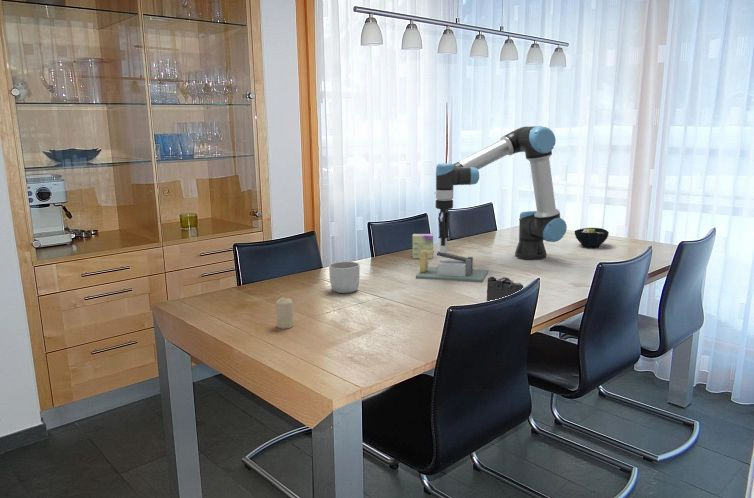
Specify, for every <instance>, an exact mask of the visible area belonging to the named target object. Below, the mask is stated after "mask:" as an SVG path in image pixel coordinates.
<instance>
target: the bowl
mask: <svg viewBox="0 0 754 498" xmlns="http://www.w3.org/2000/svg"><path fill="white" fill-rule="evenodd" d="M609 234H610V233H609V231H608V230H607V229H604V228H599V227H584V228H579V229H578V228H577V229H575V230H574V236H575V238H576V240H577V241H578V242H579V243H580V244H581V246H582V247H583V248H587V249H598V248H600V247H601V245H602V244H603V243H604V242H605V241H606V240H607V239H608V237H609Z"/></svg>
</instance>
